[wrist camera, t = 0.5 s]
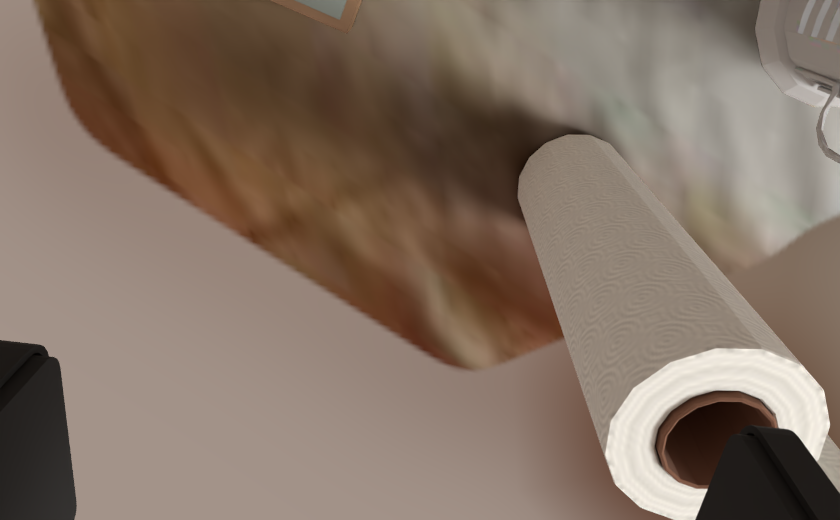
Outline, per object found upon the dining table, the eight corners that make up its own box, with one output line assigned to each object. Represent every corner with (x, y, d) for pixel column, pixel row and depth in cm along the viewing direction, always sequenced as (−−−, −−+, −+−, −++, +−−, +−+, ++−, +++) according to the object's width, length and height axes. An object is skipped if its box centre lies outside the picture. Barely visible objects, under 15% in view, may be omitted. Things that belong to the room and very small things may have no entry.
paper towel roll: (496, 169, 37) (566, 417, 18) (595, 109, 36) (788, 310, 17) (558, 269, 40) (678, 581, 21) (654, 217, 39) (879, 500, 19)
